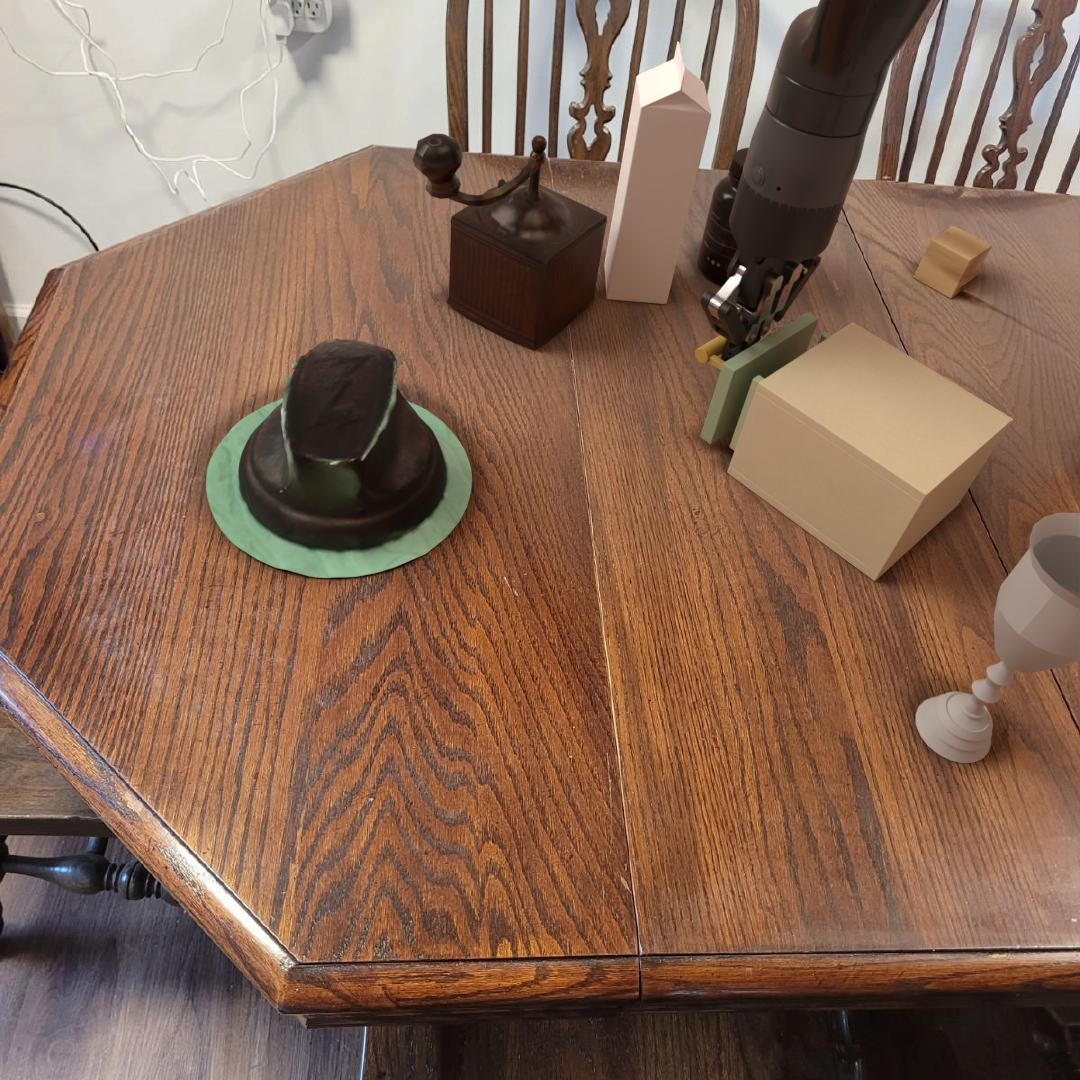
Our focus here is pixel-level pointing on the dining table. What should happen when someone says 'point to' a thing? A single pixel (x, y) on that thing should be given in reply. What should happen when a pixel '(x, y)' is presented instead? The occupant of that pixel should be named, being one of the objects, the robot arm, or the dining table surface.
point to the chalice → (1016, 638)
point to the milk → (656, 181)
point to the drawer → (750, 373)
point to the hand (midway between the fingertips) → (733, 368)
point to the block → (951, 261)
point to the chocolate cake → (339, 470)
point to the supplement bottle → (721, 224)
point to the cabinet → (864, 446)
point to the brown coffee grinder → (515, 247)
